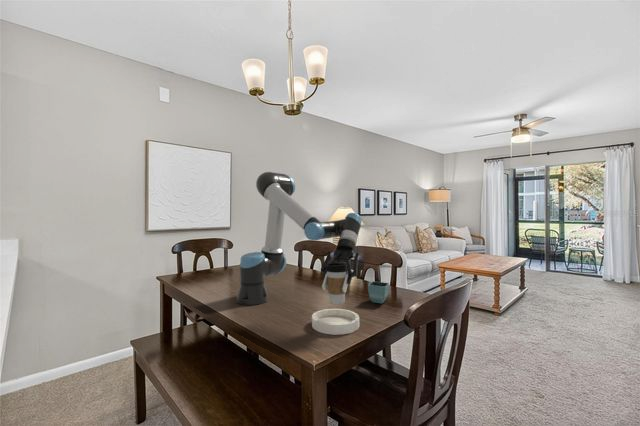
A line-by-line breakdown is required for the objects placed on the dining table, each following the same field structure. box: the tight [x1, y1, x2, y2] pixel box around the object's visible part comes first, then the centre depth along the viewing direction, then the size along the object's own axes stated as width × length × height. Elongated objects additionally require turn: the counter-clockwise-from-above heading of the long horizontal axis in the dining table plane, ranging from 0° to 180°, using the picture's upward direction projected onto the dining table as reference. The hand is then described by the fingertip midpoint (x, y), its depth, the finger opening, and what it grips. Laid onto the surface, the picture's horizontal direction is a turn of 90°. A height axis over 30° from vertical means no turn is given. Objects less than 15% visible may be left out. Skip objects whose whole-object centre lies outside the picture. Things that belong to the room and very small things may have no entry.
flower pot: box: [367, 281, 390, 305], centre depth 152 cm, size 9×9×9 cm
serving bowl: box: [311, 308, 361, 336], centre depth 122 cm, size 18×18×4 cm
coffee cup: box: [326, 262, 348, 305], centre depth 121 cm, size 8×8×15 cm
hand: (333, 289), depth 118 cm, fingers closed on coffee cup, 8 cm apart
